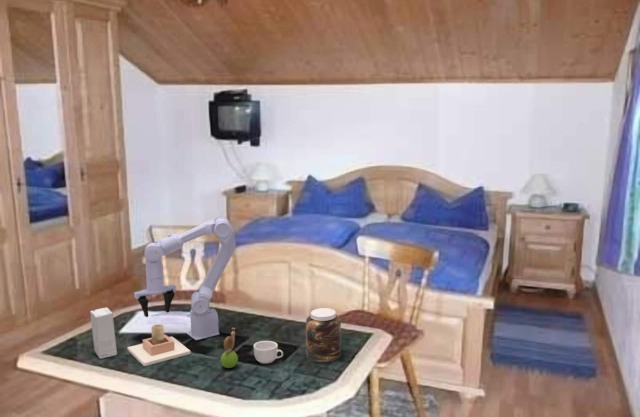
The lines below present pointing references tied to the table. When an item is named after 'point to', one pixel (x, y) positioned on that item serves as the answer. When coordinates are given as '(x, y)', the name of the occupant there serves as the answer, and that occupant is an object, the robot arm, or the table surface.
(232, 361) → the snail figurine
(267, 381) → the table surface
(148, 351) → the socket board
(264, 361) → the teacup
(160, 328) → the maple peg
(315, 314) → the jar
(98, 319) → the skincare box
